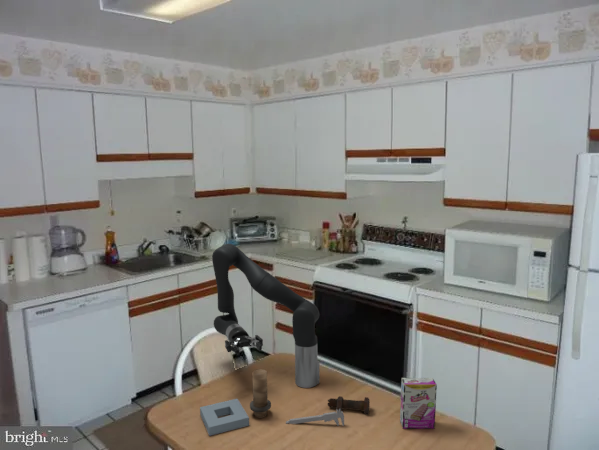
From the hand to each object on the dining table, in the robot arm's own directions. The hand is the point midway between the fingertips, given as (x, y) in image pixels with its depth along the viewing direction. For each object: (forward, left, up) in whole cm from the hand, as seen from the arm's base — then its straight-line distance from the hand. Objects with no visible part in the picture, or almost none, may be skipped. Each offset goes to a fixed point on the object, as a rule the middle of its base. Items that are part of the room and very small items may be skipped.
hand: (249, 350), depth 171 cm
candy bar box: (-46, +41, -20) cm, 65 cm away
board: (+13, +9, -20) cm, 25 cm away
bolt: (-30, +22, -20) cm, 43 cm away
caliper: (-15, +25, -20) cm, 36 cm away
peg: (0, +11, -20) cm, 23 cm away
